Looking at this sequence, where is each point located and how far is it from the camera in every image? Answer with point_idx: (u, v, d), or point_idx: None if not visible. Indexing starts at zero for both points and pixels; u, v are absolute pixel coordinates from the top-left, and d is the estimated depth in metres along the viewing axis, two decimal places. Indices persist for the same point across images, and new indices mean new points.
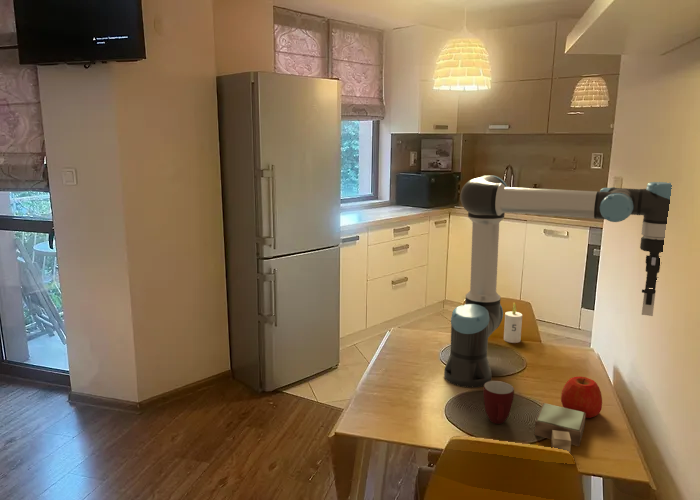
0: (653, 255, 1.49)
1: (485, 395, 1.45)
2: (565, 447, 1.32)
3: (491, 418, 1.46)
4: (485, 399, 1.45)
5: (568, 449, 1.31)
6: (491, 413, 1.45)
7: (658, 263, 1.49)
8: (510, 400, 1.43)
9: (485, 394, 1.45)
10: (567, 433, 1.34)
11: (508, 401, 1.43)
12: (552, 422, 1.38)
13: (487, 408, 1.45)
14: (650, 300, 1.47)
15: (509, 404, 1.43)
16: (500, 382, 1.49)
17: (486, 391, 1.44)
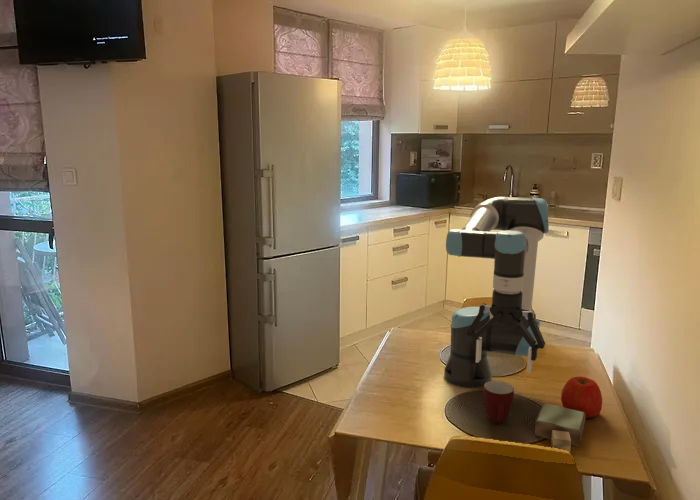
0: None
1: (485, 395, 1.45)
2: (565, 447, 1.32)
3: (491, 418, 1.46)
4: (485, 399, 1.45)
5: (568, 449, 1.31)
6: (491, 413, 1.45)
7: (495, 315, 1.40)
8: (510, 400, 1.43)
9: (485, 394, 1.45)
10: (567, 433, 1.34)
11: (508, 401, 1.43)
12: (552, 422, 1.38)
13: (487, 408, 1.45)
14: None
15: (509, 404, 1.43)
16: (500, 382, 1.49)
17: (486, 391, 1.44)
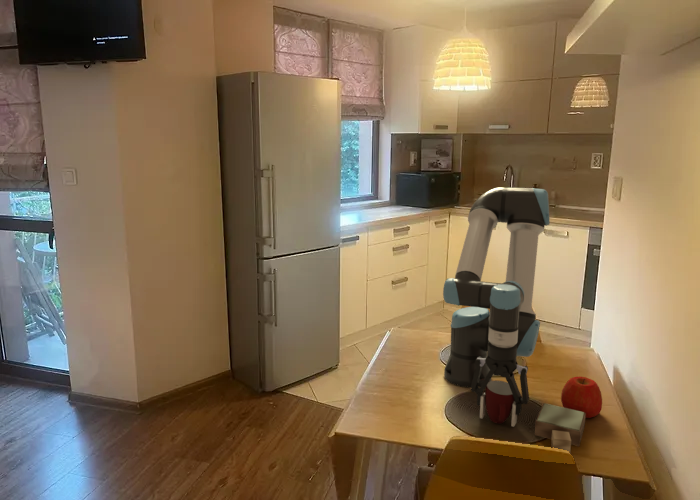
0: None
1: (487, 395, 1.45)
2: (565, 447, 1.32)
3: (491, 418, 1.46)
4: (487, 399, 1.45)
5: (568, 449, 1.31)
6: (492, 413, 1.45)
7: (491, 368, 1.43)
8: (512, 401, 1.43)
9: (487, 394, 1.45)
10: (567, 433, 1.34)
11: (510, 402, 1.42)
12: (552, 422, 1.38)
13: (488, 408, 1.45)
14: None
15: (510, 405, 1.43)
16: (502, 382, 1.49)
17: (488, 391, 1.44)
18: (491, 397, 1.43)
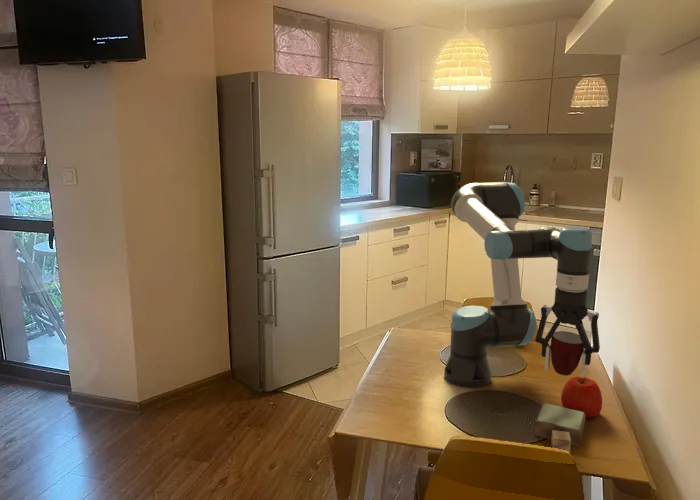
0: None
1: (554, 345, 1.37)
2: (565, 447, 1.32)
3: (558, 369, 1.38)
4: (553, 349, 1.37)
5: (568, 449, 1.31)
6: (559, 364, 1.37)
7: (558, 316, 1.36)
8: (581, 351, 1.35)
9: (554, 343, 1.37)
10: (567, 433, 1.34)
11: (579, 351, 1.35)
12: (552, 422, 1.38)
13: (555, 358, 1.37)
14: None
15: (579, 354, 1.35)
16: (568, 333, 1.41)
17: (556, 340, 1.36)
18: (559, 346, 1.35)
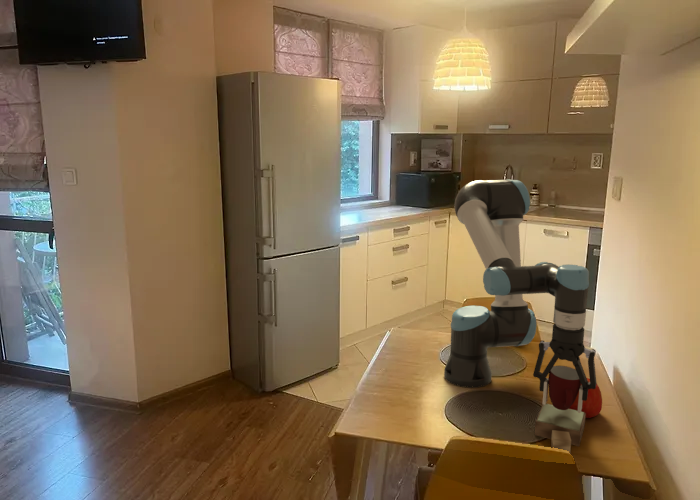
0: None
1: (551, 380, 1.39)
2: (565, 447, 1.32)
3: (556, 404, 1.40)
4: (551, 384, 1.39)
5: (568, 449, 1.31)
6: (557, 399, 1.39)
7: (556, 352, 1.38)
8: (578, 386, 1.37)
9: (552, 379, 1.39)
10: (567, 433, 1.34)
11: (576, 387, 1.37)
12: (552, 422, 1.38)
13: (552, 393, 1.40)
14: None
15: (576, 390, 1.37)
16: (565, 367, 1.43)
17: (553, 376, 1.38)
18: (556, 382, 1.38)
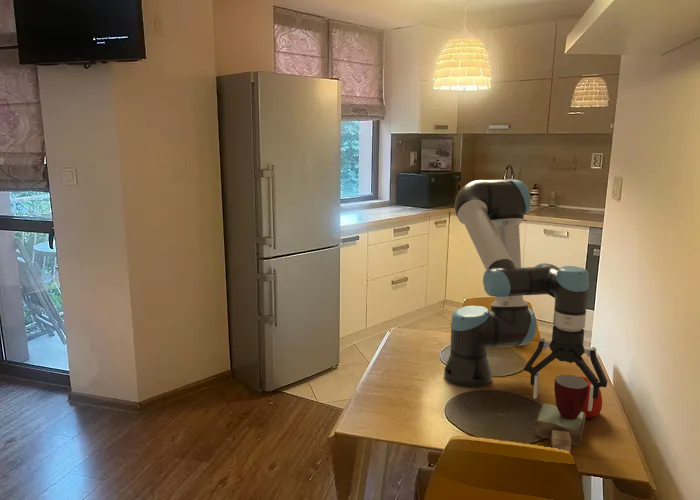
0: None
1: (557, 390, 1.39)
2: (565, 447, 1.32)
3: (563, 414, 1.39)
4: (557, 394, 1.39)
5: (568, 449, 1.31)
6: (564, 409, 1.38)
7: (555, 352, 1.38)
8: (585, 395, 1.37)
9: (557, 389, 1.39)
10: (567, 433, 1.34)
11: (583, 396, 1.36)
12: (552, 422, 1.38)
13: (559, 403, 1.39)
14: None
15: (583, 398, 1.37)
16: (571, 376, 1.43)
17: (559, 386, 1.38)
18: (562, 392, 1.37)
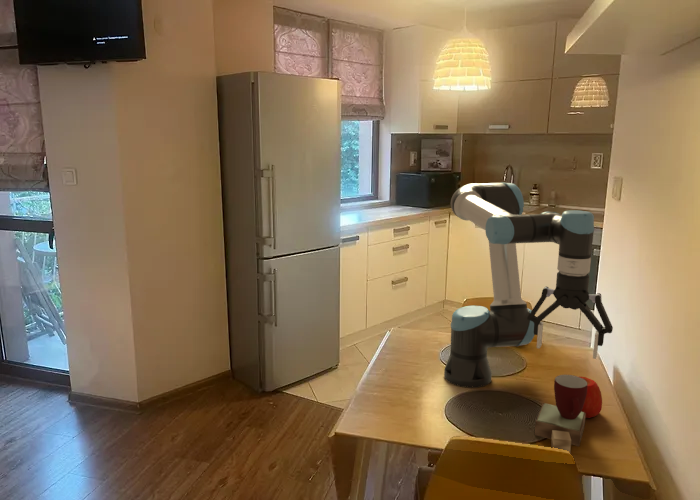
0: None
1: (557, 390, 1.39)
2: (565, 447, 1.32)
3: (563, 414, 1.39)
4: (557, 394, 1.39)
5: (568, 449, 1.31)
6: (564, 408, 1.38)
7: (559, 299, 1.35)
8: (584, 394, 1.37)
9: (557, 389, 1.39)
10: (567, 433, 1.34)
11: (583, 395, 1.36)
12: (552, 422, 1.38)
13: (559, 403, 1.39)
14: None
15: (583, 398, 1.37)
16: (570, 376, 1.43)
17: (558, 385, 1.38)
18: (562, 391, 1.37)
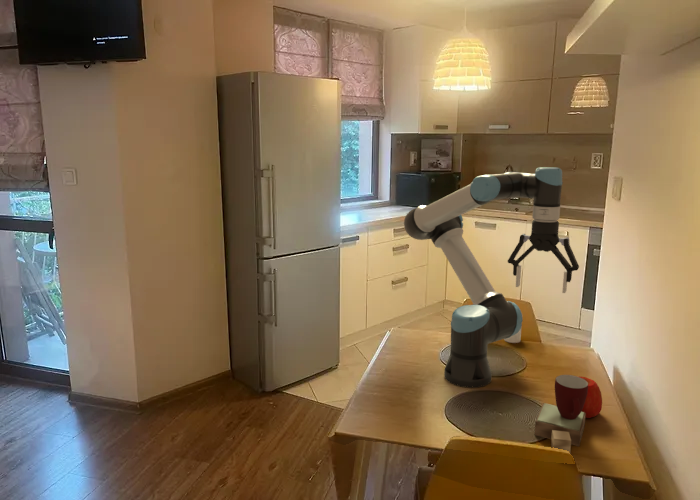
0: None
1: (558, 390, 1.39)
2: (565, 447, 1.32)
3: (564, 414, 1.39)
4: (558, 394, 1.39)
5: (568, 449, 1.31)
6: (564, 408, 1.38)
7: (534, 243, 1.59)
8: (585, 395, 1.37)
9: (558, 389, 1.39)
10: (567, 433, 1.34)
11: (583, 396, 1.36)
12: (552, 422, 1.38)
13: (559, 403, 1.39)
14: None
15: (583, 398, 1.37)
16: (571, 376, 1.43)
17: (559, 385, 1.38)
18: (562, 392, 1.37)
